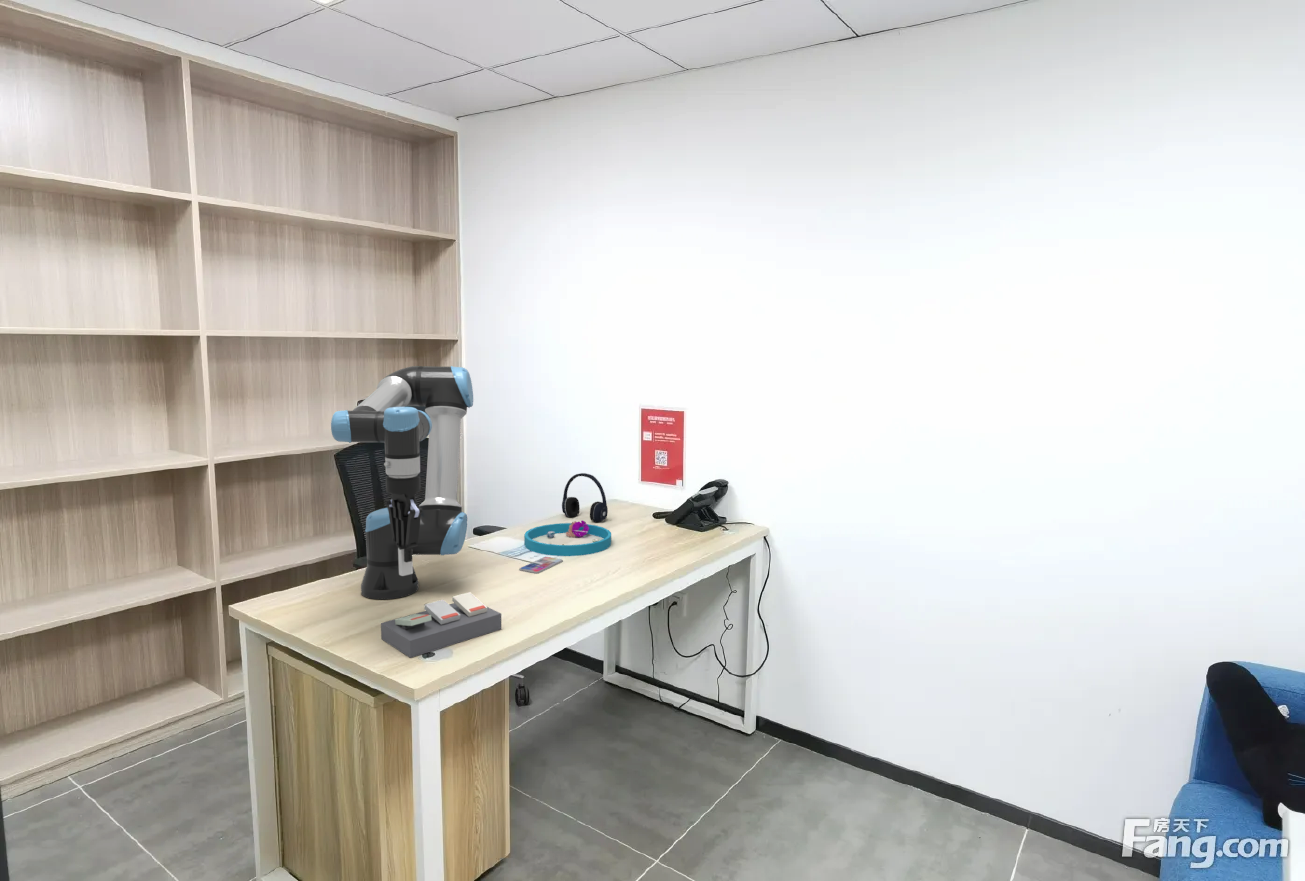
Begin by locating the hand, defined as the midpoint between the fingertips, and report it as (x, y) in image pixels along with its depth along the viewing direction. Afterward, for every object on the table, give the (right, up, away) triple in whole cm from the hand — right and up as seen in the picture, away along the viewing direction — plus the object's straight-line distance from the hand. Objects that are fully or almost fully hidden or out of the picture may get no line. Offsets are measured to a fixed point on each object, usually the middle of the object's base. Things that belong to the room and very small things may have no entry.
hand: (405, 574), depth 172 cm
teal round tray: (+28, -5, +85) cm, 90 cm away
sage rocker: (+2, -10, -1) cm, 11 cm away
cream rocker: (+12, -9, +10) cm, 18 cm away
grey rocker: (+7, -10, +4) cm, 13 cm away
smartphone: (+23, -9, +59) cm, 64 cm away
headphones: (+31, 0, +119) cm, 123 cm away
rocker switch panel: (+5, -15, +7) cm, 18 cm away
